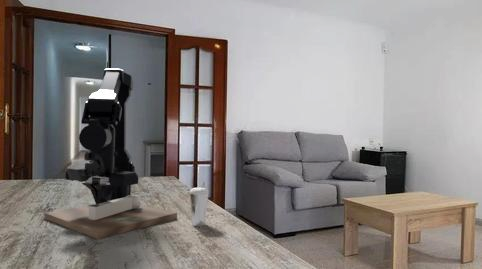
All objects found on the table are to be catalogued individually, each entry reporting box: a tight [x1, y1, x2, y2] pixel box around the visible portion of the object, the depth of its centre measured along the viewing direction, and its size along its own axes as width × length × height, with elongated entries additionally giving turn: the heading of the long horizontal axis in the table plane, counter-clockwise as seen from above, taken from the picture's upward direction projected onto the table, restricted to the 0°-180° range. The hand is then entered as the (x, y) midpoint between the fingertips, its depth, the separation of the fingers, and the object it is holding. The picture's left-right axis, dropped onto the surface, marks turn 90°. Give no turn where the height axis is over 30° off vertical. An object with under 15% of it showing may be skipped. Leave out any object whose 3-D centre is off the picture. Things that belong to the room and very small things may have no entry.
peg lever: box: [88, 194, 141, 220], centre depth 87 cm, size 16×4×3 cm, turn 157°
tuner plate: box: [43, 203, 178, 240], centre depth 88 cm, size 22×25×2 cm
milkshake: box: [188, 181, 209, 227], centre depth 84 cm, size 4×5×10 cm
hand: (100, 210), depth 85 cm, fingers closed
